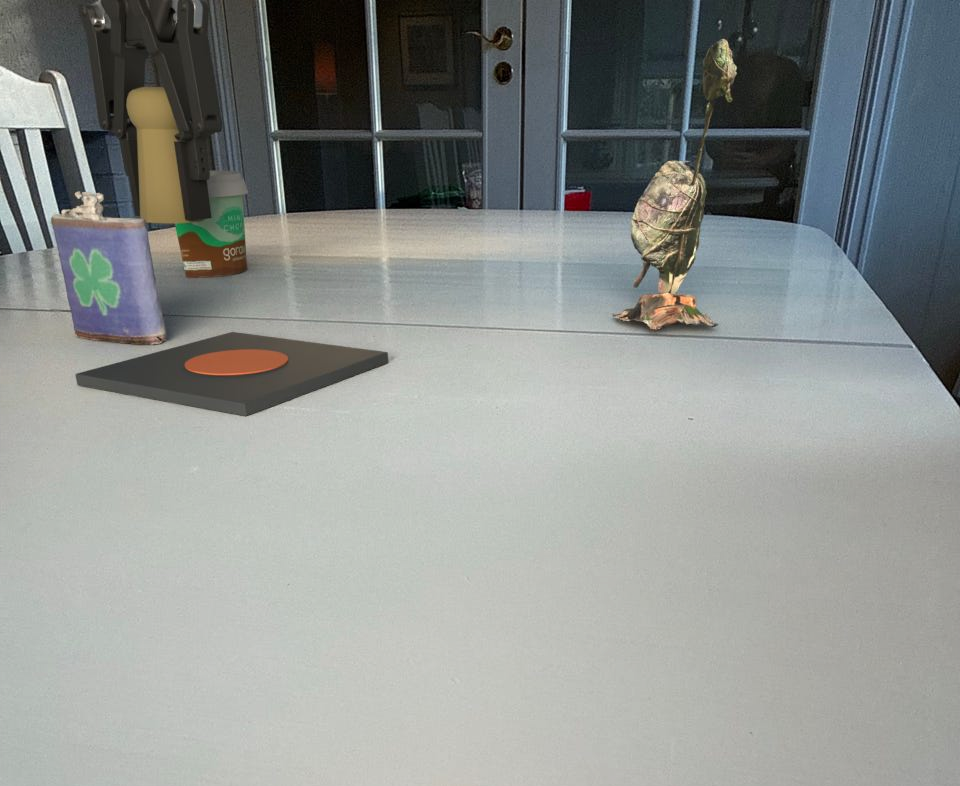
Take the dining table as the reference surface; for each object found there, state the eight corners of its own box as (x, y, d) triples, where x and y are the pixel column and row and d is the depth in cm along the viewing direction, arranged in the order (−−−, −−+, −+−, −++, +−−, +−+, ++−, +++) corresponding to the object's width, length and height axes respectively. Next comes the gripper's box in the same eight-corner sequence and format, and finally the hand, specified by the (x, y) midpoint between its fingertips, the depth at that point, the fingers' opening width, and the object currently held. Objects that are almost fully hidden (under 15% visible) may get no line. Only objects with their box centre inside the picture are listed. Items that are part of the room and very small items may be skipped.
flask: (174, 340, 72) (147, 191, 67) (147, 347, 70) (117, 194, 64) (92, 330, 76) (60, 188, 70) (64, 337, 73) (29, 191, 68)
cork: (189, 215, 91) (171, 88, 85) (215, 221, 87) (199, 87, 81) (130, 218, 87) (108, 86, 82) (155, 224, 83) (133, 85, 78)
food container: (233, 280, 98) (218, 177, 93) (180, 279, 98) (162, 177, 93) (273, 263, 108) (262, 170, 103) (224, 263, 109) (211, 170, 104)
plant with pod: (693, 309, 81) (722, 45, 71) (725, 336, 71) (763, 34, 61) (604, 311, 81) (620, 46, 71) (624, 338, 71) (645, 35, 61)
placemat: (77, 385, 60) (73, 372, 60) (233, 341, 71) (232, 330, 71) (245, 416, 54) (243, 401, 53) (389, 363, 65) (388, 350, 64)
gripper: (244, -89, 74) (274, 219, 86) (87, -71, 82) (134, 208, 94) (176, -106, 68) (218, 226, 80) (14, -85, 76) (74, 214, 88)
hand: (173, 216), depth 87 cm, fingers closed on cork, 6 cm apart
